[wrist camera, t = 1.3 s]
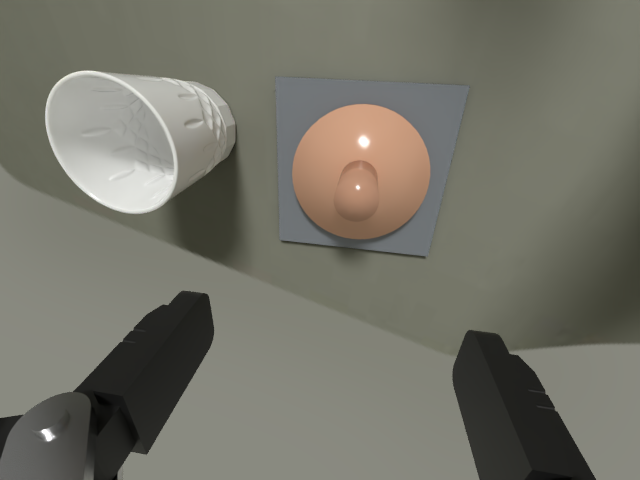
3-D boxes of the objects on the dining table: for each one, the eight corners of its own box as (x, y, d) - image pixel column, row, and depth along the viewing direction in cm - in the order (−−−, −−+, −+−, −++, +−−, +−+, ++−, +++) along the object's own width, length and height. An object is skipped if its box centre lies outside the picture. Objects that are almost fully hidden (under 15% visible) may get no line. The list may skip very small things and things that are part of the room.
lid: (442, 107, 22) (464, 116, 17) (414, 240, 27) (424, 278, 22) (294, 99, 23) (272, 106, 18) (294, 228, 28) (277, 261, 23)
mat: (467, 85, 22) (470, 85, 21) (426, 253, 28) (427, 256, 28) (277, 76, 23) (275, 76, 23) (281, 237, 30) (279, 240, 29)
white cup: (221, 187, 28) (153, 236, 20) (144, 137, 27) (36, 165, 18) (259, 113, 25) (197, 132, 16) (173, 51, 23) (55, 34, 15)
